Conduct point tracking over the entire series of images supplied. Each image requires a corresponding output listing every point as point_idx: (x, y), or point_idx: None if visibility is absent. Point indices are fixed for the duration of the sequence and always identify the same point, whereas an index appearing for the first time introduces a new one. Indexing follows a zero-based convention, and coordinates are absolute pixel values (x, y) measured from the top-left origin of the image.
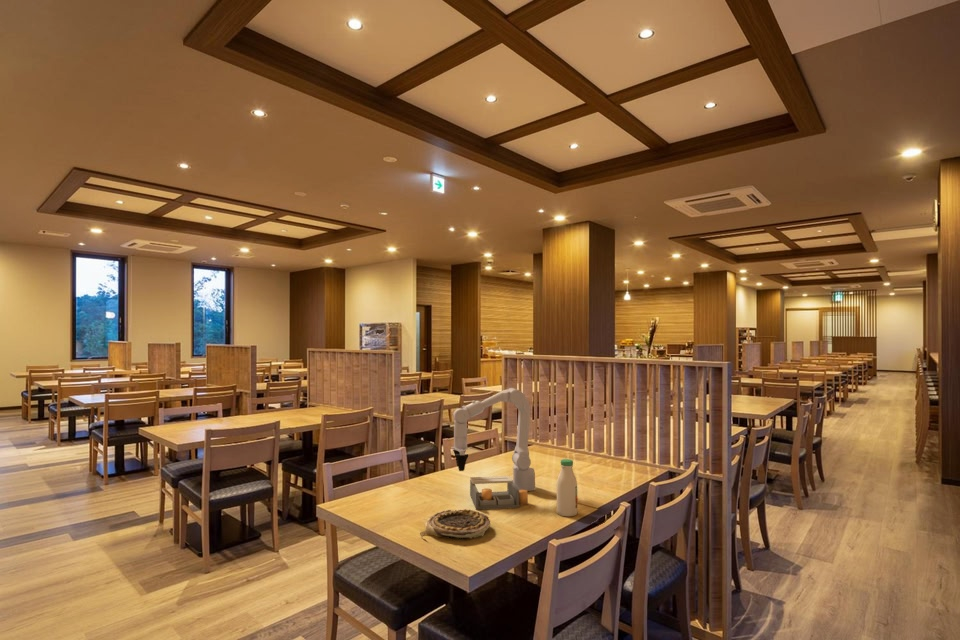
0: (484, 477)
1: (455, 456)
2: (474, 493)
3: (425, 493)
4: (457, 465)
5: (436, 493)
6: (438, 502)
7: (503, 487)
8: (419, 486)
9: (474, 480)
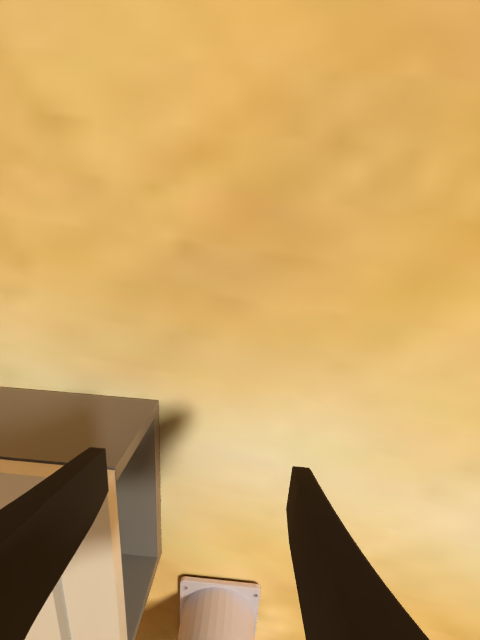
0: (95, 561)
1: (354, 613)
2: None
3: (239, 143)
4: (295, 476)
5: (224, 222)
6: (51, 212)
7: (254, 555)
8: (421, 109)
9: (18, 490)
